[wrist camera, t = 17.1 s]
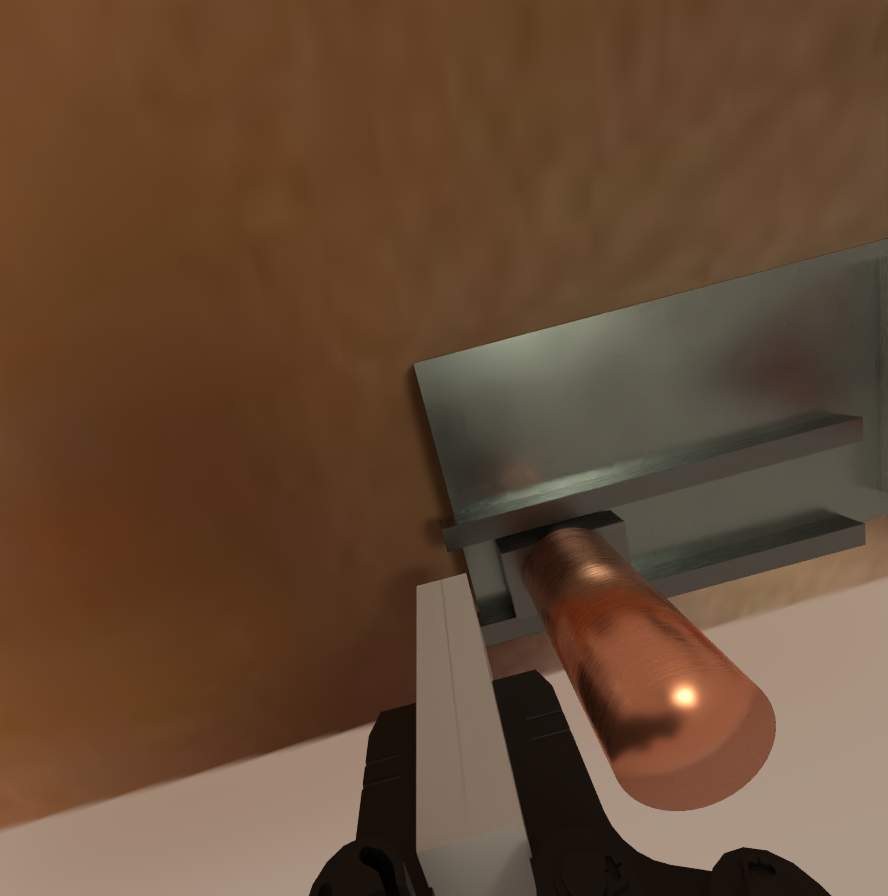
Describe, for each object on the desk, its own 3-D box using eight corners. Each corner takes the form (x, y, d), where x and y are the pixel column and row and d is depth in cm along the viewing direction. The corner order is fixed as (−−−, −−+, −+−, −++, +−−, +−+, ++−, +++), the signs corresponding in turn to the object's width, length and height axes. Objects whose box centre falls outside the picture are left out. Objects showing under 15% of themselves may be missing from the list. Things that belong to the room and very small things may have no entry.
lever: (512, 608, 14) (598, 835, 8) (493, 532, 14) (569, 705, 7) (621, 579, 14) (806, 778, 8) (608, 501, 14) (798, 643, 7)
